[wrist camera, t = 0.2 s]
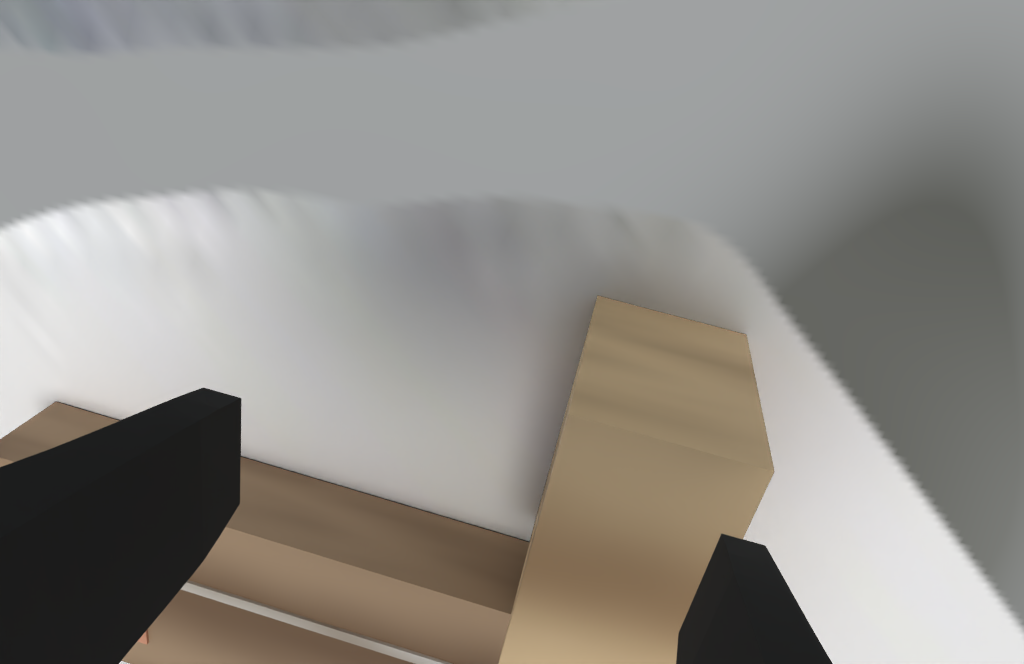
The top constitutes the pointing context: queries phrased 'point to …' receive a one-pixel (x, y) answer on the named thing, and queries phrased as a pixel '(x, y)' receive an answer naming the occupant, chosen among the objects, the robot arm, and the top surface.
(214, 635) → the walnut plank
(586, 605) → the light wood pillar
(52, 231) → the top surface
